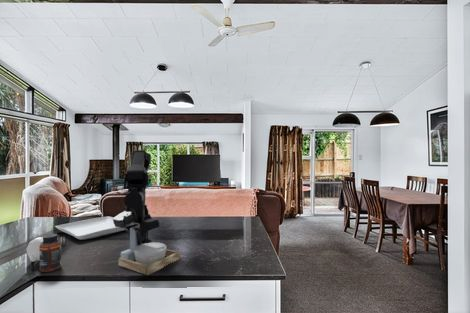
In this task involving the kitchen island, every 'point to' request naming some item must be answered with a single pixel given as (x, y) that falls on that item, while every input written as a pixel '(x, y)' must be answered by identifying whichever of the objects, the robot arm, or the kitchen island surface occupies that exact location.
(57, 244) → the supplement bottle
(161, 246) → the ramekin
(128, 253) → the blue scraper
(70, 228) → the square plate
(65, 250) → the kitchen island surface
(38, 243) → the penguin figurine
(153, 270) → the oak corral
